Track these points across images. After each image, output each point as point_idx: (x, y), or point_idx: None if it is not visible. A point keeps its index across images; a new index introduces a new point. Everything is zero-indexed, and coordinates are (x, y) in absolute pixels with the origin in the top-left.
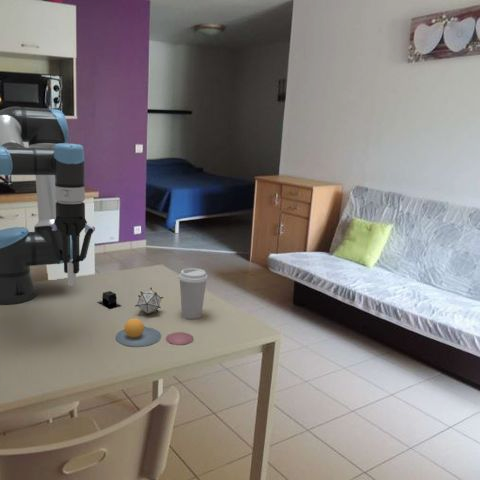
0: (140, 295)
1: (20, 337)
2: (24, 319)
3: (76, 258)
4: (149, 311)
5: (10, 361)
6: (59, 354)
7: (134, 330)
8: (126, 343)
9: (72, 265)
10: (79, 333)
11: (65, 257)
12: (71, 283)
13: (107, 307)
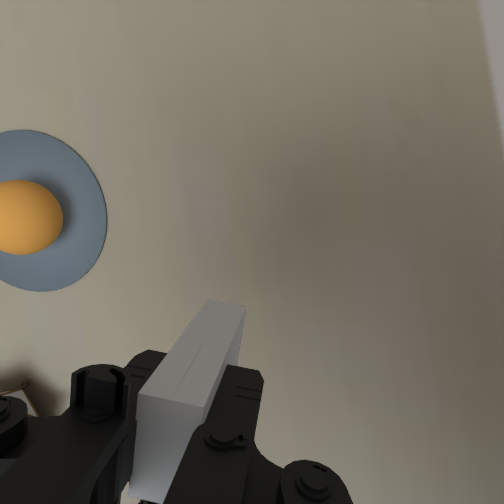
0: None
1: (454, 227)
2: (466, 390)
3: (52, 430)
4: (7, 391)
5: (457, 13)
6: (281, 73)
7: (9, 180)
8: (60, 154)
9: (151, 378)
10: (238, 252)
11: (209, 471)
12: (216, 306)
13: None
